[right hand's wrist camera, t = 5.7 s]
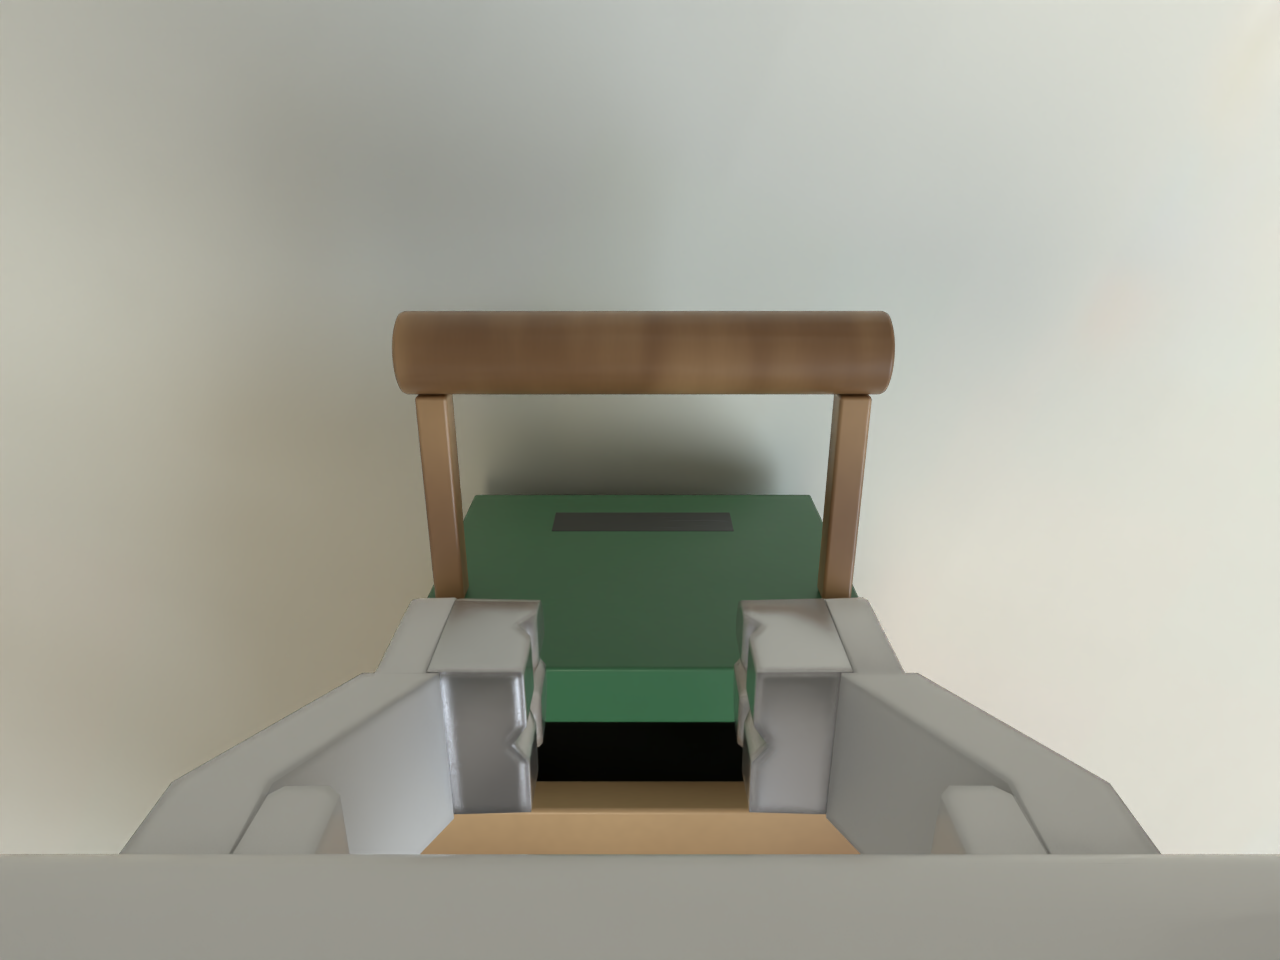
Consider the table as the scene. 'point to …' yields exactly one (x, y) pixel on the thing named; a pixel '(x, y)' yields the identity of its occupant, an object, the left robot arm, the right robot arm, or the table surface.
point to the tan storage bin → (640, 823)
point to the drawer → (642, 517)
